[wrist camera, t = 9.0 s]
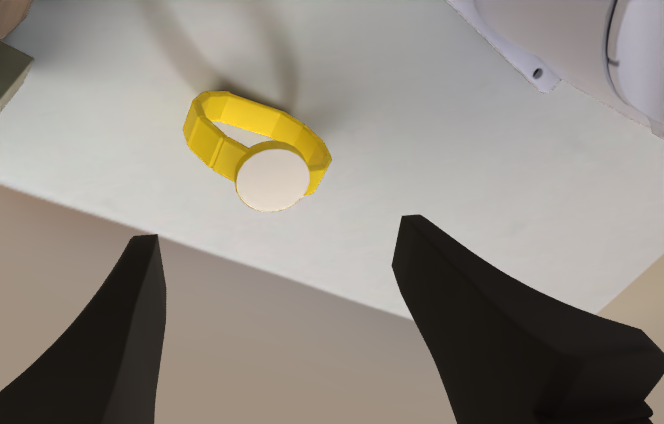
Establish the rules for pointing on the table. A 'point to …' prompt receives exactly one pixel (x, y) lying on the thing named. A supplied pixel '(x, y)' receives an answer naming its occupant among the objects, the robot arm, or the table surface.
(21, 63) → the drawer
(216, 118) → the watch
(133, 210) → the table surface
